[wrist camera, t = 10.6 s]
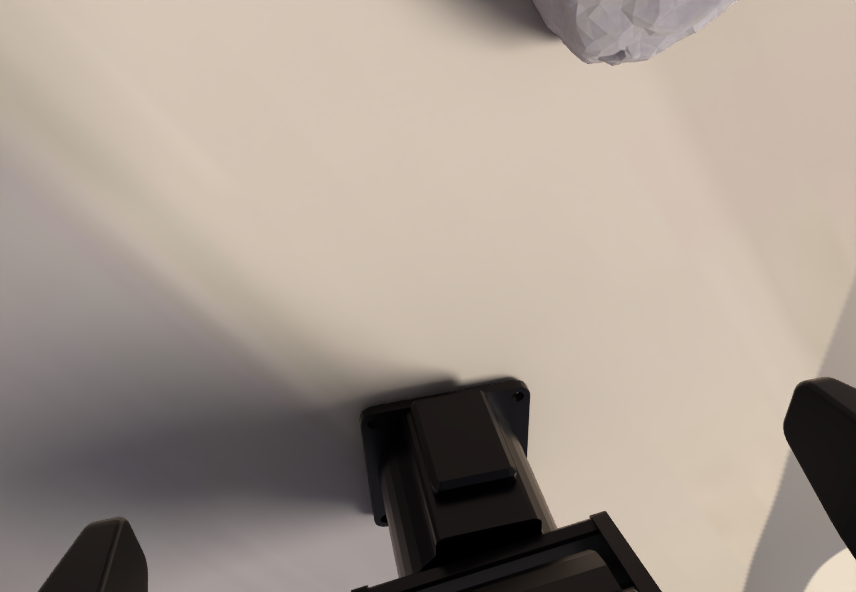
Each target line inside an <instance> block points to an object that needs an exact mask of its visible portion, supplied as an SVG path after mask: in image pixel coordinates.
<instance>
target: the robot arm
mask: <svg viewBox="0 0 856 592" xmlns="http://www.w3.org/2000/svg"><path fill="white" fill-rule="evenodd" d="M517 392H519V393H518V394H516V395H513V394H514V393H517ZM529 406H530V392H529V390H528V388H527V386H526V384H525V383H524V382H523V381H520V380H514V381H509V382H503V383H498V384H492V385H487V386H482V387H476V388H471V389H465V390H460V391H454V392H449V393H443V394H438V395H433V396H427V397H422V398H416V399H411V400H405V401H400V402H394V403H389V404H384V405H378V406H373V407H369V408H366V409H365V410H364V411H362V413H361V414H360V426H361V433H362V440H363V447H364V454H365V461H366V467H367V474H368V481H369V488H370V495H371V502H372V509H373V515H374V521H375V523H376V524H377V525H378V526H382V527H385V526H389V531H390V536H391V541H392V546H393V551H394V556H395V561H396V566H397V571H398V576H399V578H398V579H395V580H392V581H389V582H386V583H382V584H379V585H376V586H373V587H370V588H369V587H368V585H366V586H363V587H360V588H357V589H353V590H351V592H662V591H661V590H660V589H659V587H658V586H657V584H656V583H655V581H654V580H653V578H652V577H651V576H650V574H649V573H648V571H647V570H646V568H645V567H644V565H643V564H642V563H641V561H640V560H639V558H638V557H637V555H636V554H635V552H634V551H633V550H632V548H631V547H630V545H629V544H628V542H627V541H626V540H625V538H624V537H623V535H622V534H621V532H620V531H619V529H618V528H617V527H616V525H615V524H614V522H613V521H612V519H611V518H610V516H609V515H608V514H607V512H606V511H603V512H600V513H597V514H594V515H590V519H587V520H584V521H581V522H577V523H574V524H571V525H568V526H565V527H561V528H558V529H557V526H556V524H555V522H554V520H553V517H552V515H551V513H550V510H549V508H548V506H547V504H546V501H545V499H544V497H543V495H542V492H541V490H540V488H539V485H538V483H537V481H536V479H535V476H534V474H533V472H532V469H531V467H530V465H529V463H528V460H527V446H528V426H529ZM372 419H377V420H376V421H370V420H372ZM783 429H784V434H785V437H786V440H787V442H788V444H789V446H790V448H791V449H792V451H793V453H794V455H795V457H796V458H797V460H798V462H799V464H800V466H801V467H802V469H803V471H804V473H805V475H806V476H807V478H808V480H809V482H810V483H811V485H812V487H813V489H814V491H815V493H816V494H817V496H818V498H819V500H820V502H821V503H822V505H823V507H824V509H825V511H826V512H827V514H828V516H829V518H830V520H831V522H832V523H833V525H834V527H835V528H836V530H837V531H838V533H839V535H840V537H841V538H842V540H843V541H844V543H845V544H846V546H847V547H848V549H849V551H850V552H851V554H852V555H853V556H854V558H855V559H856V388H854V387H851V386H849V385H847V384H845V383H843V382H841V381H838V380H836V379H834V378H830V377H820V378H815V379H810V380H805V381H802V382H800V383H799V384H798V385H797V386H796V388H795V390H794V393H793V396H792V399H791V402H790V404H789V407H788V410H787V413H786V416H785V419H784V423H783ZM38 592H148V569H147V562H146V558H145V555H144V553H143V551H142V549H141V547H140V545H139V542H138V540H137V538H136V536H135V534H134V532H133V530H132V528H131V526H130V524H129V522H128V521H127V520H126V519H125V518H123V517H116V518H111V519H106V520H101V521H96V522H92V523H90V524H89V525H87V526H86V527H85V528H84V529H83V531H82V532H81V533H80V535H79V536H78V537H77V539H76V540H75V542H74V543H73V544H72V546H71V547H70V548H69V550H68V551H67V552H66V554H65V555H64V557H63V558H62V559H61V561H60V562H59V563H58V565H57V566H56V567H55V569H54V570H53V572H52V573H51V574H50V576H49V577H48V578H47V580H46V581H45V582H44V584H43V585H42V587H41V588H40V589H39V591H38Z"/></svg>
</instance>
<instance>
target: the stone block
mask: <svg viewBox="0 0 856 592" xmlns="http://www.w3.org/2000/svg"><path fill="white" fill-rule="evenodd" d="M532 1H533V3H534V5H535V7H536V8H537V10H538V12H539V14H540V15H541V17H542V19H543V20H544V22H545V24H546V26H547V27H548V28H549V29H550V30H551V31H552V32H553V33H555V34H557V35H558V36H559V38H560V39H561V40H562V42H563V43H564V44H565V45H566V46H567V47H568V48H569V50H570V51H571V52H572V53H573V54H575V55H576V56H577V57H578V58H579V59H580V60H581V61H583V62H585V63H587V64H591V63H601V62H606V63H608V64H610V65H612V66H614V65H619V64H621V63H624V62H638V61H644V60H648V59H649V58H651V57H653V56H654V55H656V54H658V53H659V52H661V51H663V50H665V49H666V48H668V47H669V46H671V45H672V44H674V43H675V42H677V41H679V40H681V39H683V38H685V37H687V36H689V35H691V34H693V33H695V32H697V31H698V30H700V29H701V28H703V27H704V26H705V25H707V24H708V23H710V22H711V21H712V20H713V19H715V18H716V17H717V16H719V15H720V14H722V13H723V12H724V11H726V10H727V9H728V8H729V7H730V6H732V5H733V4H734V3H735V2H736V1H737V0H532Z"/></svg>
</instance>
